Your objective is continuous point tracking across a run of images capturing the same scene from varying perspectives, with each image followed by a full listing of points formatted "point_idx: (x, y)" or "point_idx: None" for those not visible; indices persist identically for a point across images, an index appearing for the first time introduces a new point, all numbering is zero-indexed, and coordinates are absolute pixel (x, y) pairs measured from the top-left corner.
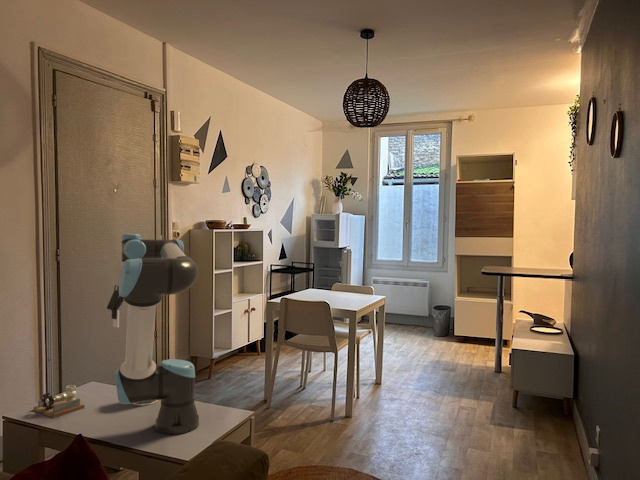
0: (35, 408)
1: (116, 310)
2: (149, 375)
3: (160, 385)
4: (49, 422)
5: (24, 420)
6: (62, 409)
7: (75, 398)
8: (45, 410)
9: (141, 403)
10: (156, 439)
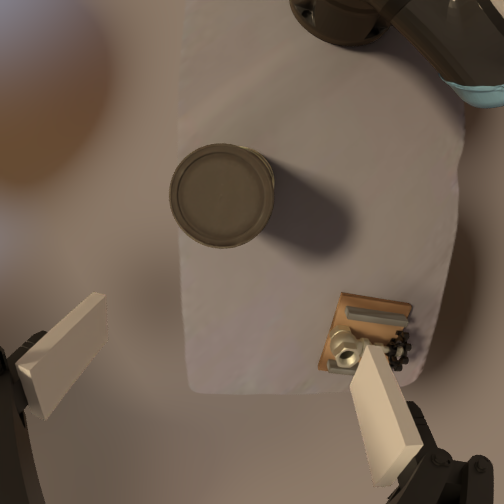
0: None
1: (433, 450)
2: None
3: None
4: (430, 291)
5: (429, 340)
6: (387, 312)
7: (337, 331)
8: None
9: (269, 166)
10: None
